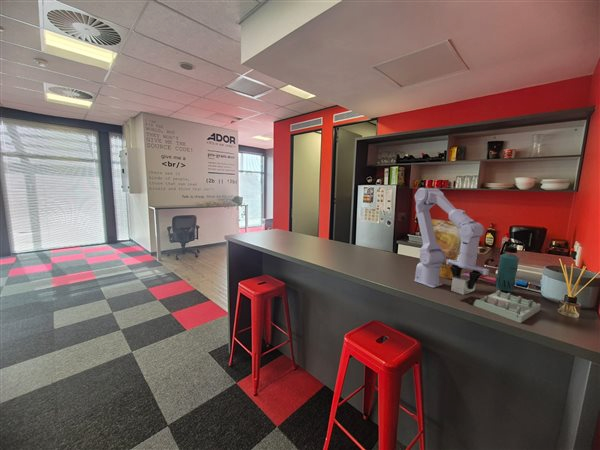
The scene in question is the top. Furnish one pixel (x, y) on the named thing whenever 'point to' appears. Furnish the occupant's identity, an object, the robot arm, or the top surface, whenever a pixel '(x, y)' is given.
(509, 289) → the beverage bottle
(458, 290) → the block
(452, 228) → the pancake mix bag
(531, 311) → the tray
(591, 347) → the top surface
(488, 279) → the smartphone
